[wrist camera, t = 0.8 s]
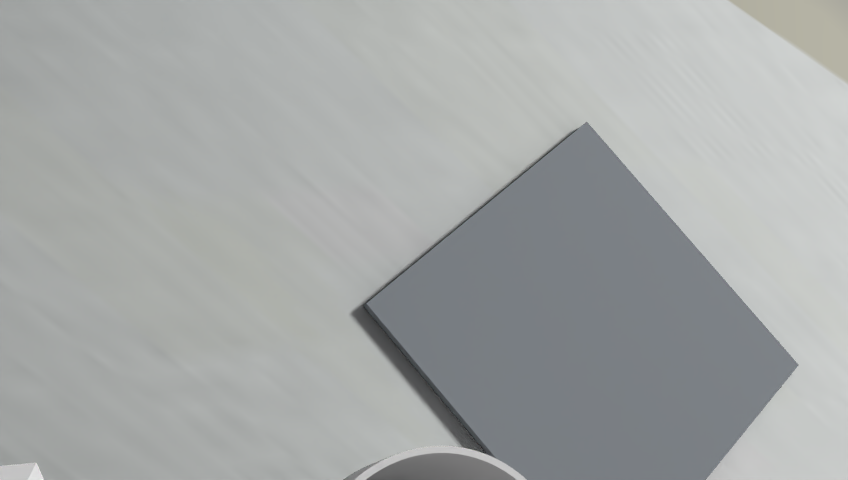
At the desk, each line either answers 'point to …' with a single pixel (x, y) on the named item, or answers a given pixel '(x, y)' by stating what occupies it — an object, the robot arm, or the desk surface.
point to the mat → (584, 329)
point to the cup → (438, 466)
